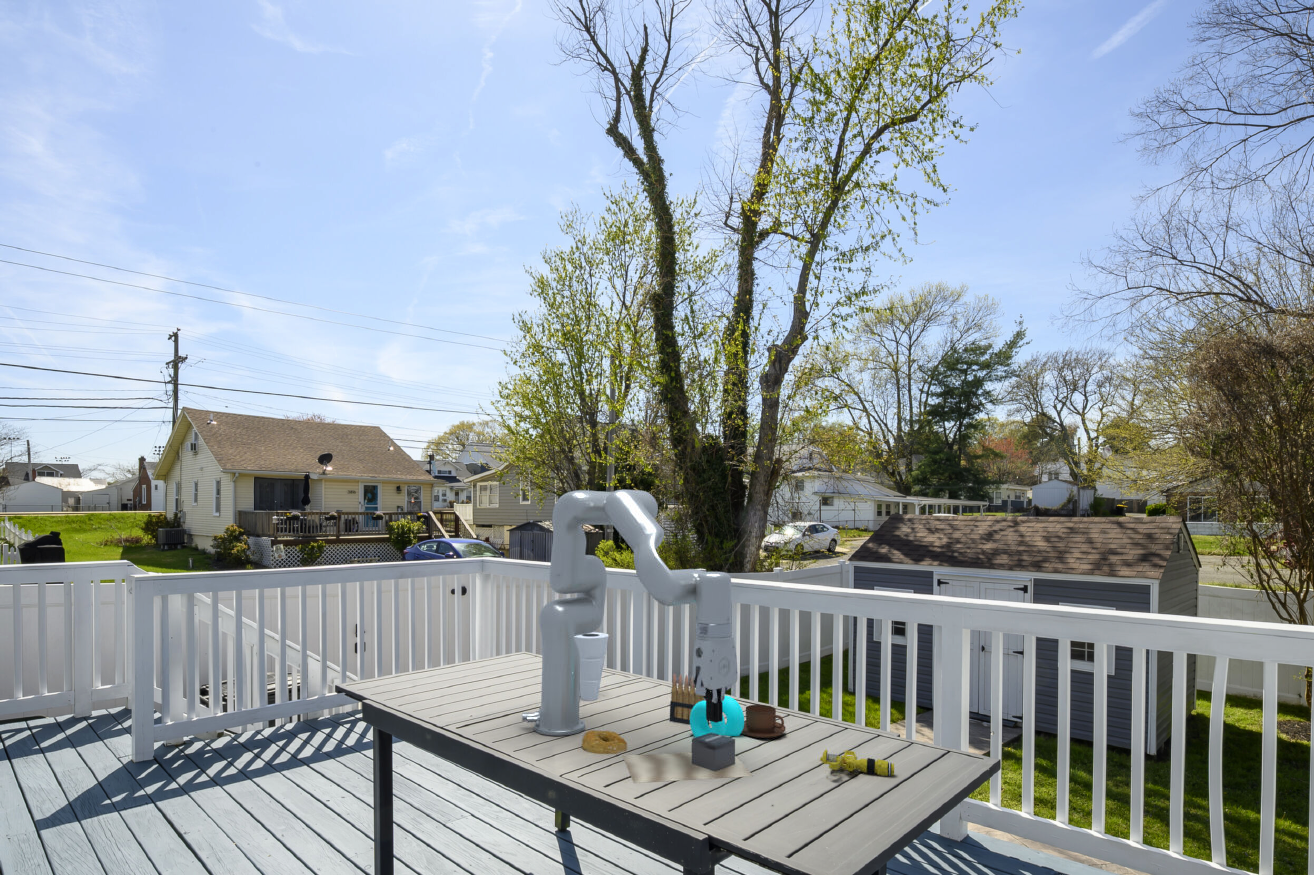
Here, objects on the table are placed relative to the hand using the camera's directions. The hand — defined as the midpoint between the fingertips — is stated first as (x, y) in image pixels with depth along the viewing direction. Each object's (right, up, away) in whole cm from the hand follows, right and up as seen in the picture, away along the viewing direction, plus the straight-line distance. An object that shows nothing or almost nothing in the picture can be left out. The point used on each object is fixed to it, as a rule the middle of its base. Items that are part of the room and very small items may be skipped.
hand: (714, 720), depth 149 cm
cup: (-32, -17, +58) cm, 68 cm away
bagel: (-24, -12, +9) cm, 28 cm away
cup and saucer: (+14, -14, +25) cm, 32 cm away
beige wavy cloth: (-6, -10, -2) cm, 12 cm away
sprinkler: (+30, -11, +1) cm, 32 cm away
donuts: (+2, -13, +19) cm, 23 cm away
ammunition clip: (-4, -14, +34) cm, 37 cm away
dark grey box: (0, -9, -1) cm, 9 cm away
